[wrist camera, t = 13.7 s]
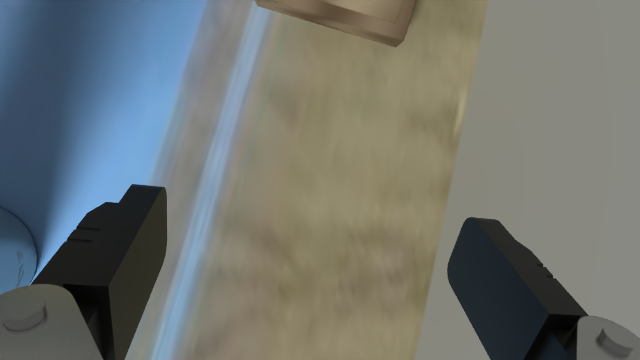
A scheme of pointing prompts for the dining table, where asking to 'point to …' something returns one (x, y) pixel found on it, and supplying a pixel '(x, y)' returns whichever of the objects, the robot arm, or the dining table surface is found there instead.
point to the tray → (352, 16)
